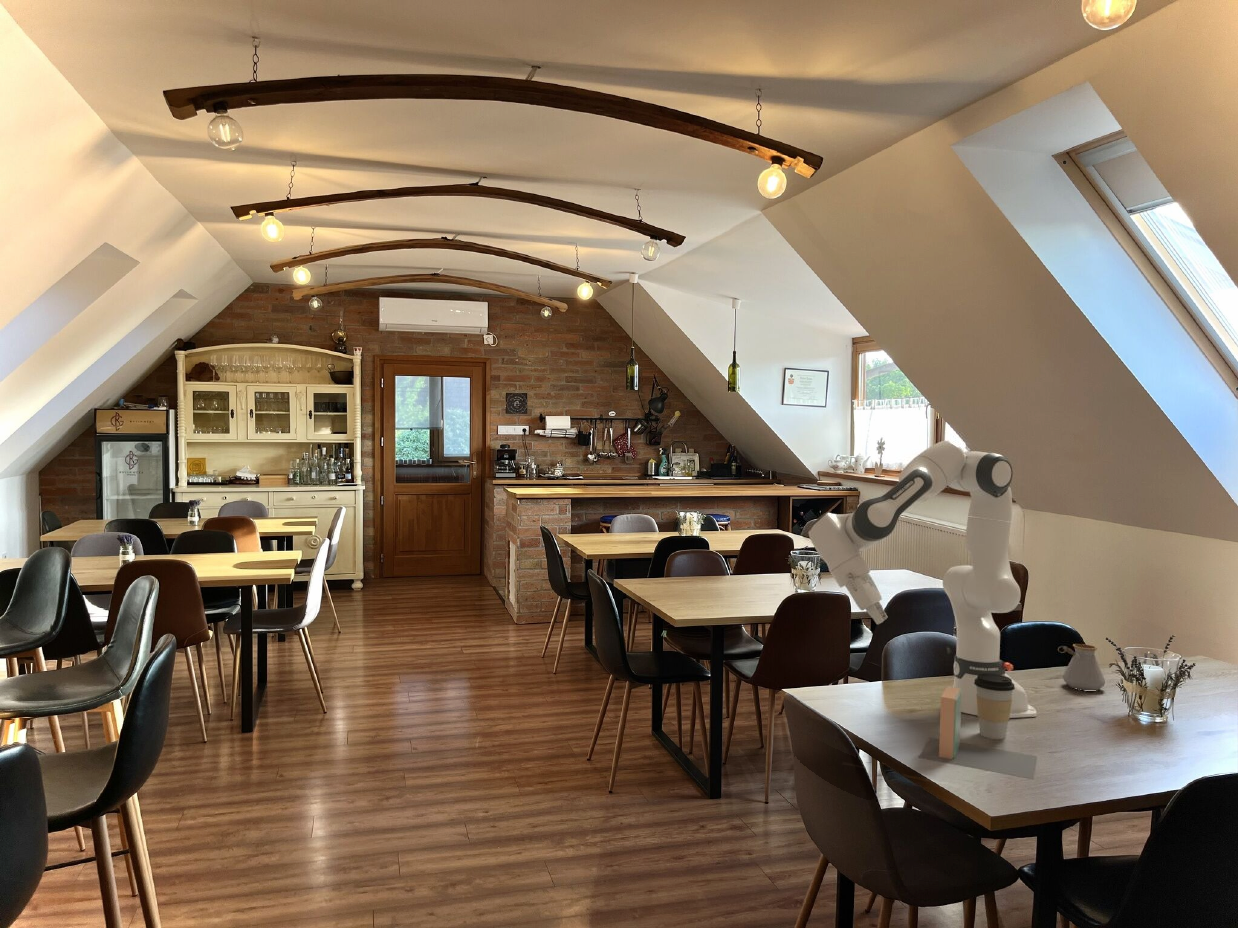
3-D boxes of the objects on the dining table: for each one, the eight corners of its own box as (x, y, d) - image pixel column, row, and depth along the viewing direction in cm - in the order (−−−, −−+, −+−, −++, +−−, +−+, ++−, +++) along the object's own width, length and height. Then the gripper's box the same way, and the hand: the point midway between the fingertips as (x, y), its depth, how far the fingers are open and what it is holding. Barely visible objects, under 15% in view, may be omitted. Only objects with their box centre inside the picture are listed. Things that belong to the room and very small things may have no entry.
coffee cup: (1010, 746, 209) (1012, 685, 209) (968, 738, 214) (971, 678, 214) (1015, 735, 217) (1017, 676, 217) (975, 727, 222) (977, 670, 222)
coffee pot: (1072, 680, 270) (1074, 633, 270) (1111, 689, 261) (1113, 640, 261) (1039, 691, 257) (1041, 642, 256) (1079, 701, 248) (1081, 650, 247)
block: (938, 756, 200) (941, 696, 199) (945, 743, 208) (947, 686, 208) (954, 759, 198) (956, 699, 198) (959, 746, 207) (961, 688, 206)
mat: (918, 759, 199) (918, 757, 199) (929, 738, 213) (929, 736, 213) (1033, 781, 187) (1033, 778, 187) (1037, 758, 202) (1037, 755, 202)
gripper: (856, 567, 207) (889, 618, 203) (867, 565, 225) (897, 611, 222) (834, 581, 209) (866, 631, 205) (846, 578, 227) (876, 624, 223)
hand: (882, 621), depth 213 cm, fingers open, 8 cm apart
